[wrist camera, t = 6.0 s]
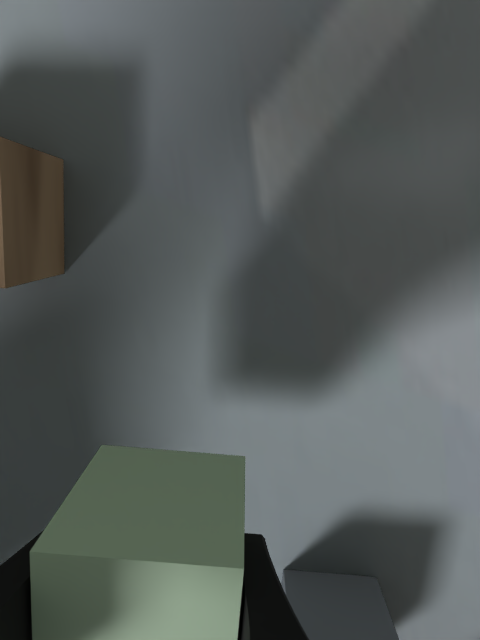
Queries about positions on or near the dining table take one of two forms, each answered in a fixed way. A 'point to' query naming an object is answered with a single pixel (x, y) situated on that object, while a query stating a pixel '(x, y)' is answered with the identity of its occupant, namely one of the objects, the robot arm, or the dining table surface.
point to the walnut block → (30, 214)
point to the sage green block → (144, 550)
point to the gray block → (338, 606)
